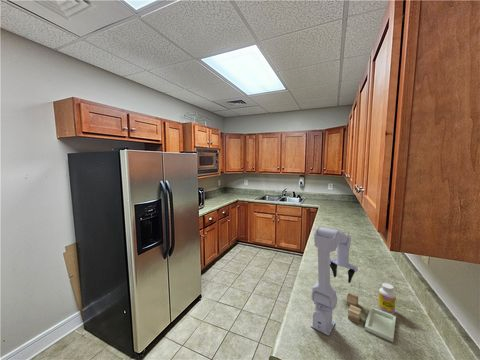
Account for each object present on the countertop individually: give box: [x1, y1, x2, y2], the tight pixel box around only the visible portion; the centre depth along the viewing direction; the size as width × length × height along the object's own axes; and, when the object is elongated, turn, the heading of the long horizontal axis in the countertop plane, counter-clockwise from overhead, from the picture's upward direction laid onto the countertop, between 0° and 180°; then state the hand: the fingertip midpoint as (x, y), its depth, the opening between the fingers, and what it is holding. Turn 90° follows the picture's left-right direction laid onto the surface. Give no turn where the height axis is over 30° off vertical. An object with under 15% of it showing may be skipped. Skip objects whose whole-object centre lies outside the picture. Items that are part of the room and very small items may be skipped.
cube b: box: [346, 292, 359, 308], centre depth 106 cm, size 4×4×4 cm
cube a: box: [347, 305, 362, 324], centre depth 96 cm, size 4×4×4 cm
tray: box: [364, 306, 397, 344], centre depth 92 cm, size 16×10×2 cm, turn 139°
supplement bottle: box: [378, 282, 397, 315], centre depth 101 cm, size 7×7×13 cm
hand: (342, 279), depth 111 cm, fingers open, 7 cm apart
